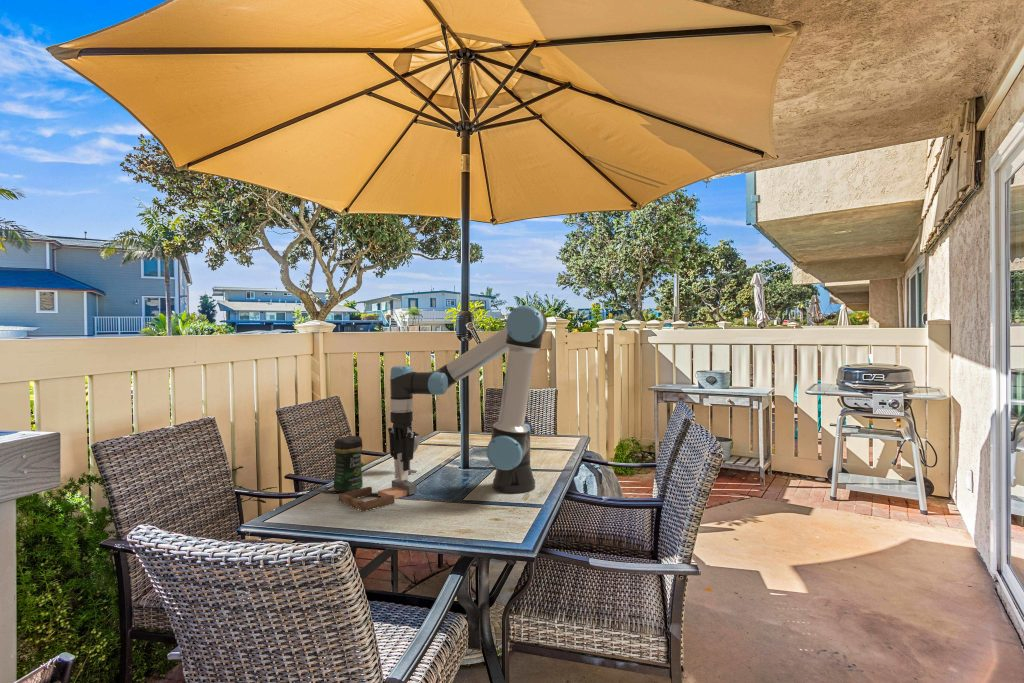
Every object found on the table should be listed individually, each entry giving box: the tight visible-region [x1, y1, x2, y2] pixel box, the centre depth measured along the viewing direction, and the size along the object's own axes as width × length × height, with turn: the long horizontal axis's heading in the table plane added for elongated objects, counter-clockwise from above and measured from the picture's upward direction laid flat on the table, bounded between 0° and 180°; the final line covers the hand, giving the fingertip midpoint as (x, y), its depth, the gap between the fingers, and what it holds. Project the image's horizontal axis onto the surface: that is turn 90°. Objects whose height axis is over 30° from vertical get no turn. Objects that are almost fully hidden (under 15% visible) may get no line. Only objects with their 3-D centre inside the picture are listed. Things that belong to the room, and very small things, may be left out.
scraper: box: [391, 453, 418, 496], centre depth 189 cm, size 10×3×13 cm, turn 48°
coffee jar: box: [333, 435, 364, 493], centre depth 194 cm, size 10×8×19 cm
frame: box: [338, 486, 395, 512], centre depth 179 cm, size 15×12×2 cm
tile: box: [377, 486, 408, 500], centre depth 186 cm, size 7×7×2 cm
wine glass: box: [408, 432, 420, 474], centre depth 216 cm, size 8×8×15 cm
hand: (401, 478), depth 189 cm, fingers closed on scraper, 3 cm apart
